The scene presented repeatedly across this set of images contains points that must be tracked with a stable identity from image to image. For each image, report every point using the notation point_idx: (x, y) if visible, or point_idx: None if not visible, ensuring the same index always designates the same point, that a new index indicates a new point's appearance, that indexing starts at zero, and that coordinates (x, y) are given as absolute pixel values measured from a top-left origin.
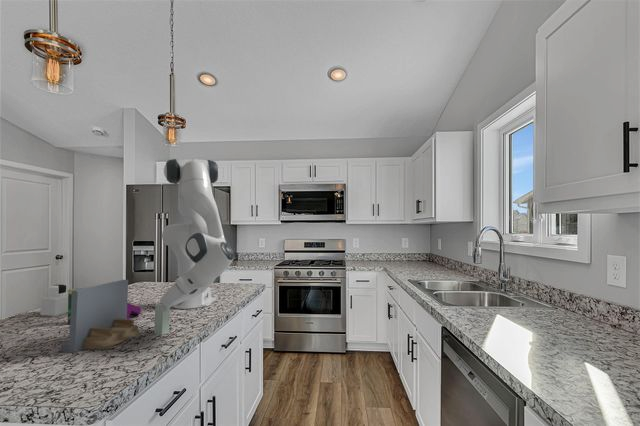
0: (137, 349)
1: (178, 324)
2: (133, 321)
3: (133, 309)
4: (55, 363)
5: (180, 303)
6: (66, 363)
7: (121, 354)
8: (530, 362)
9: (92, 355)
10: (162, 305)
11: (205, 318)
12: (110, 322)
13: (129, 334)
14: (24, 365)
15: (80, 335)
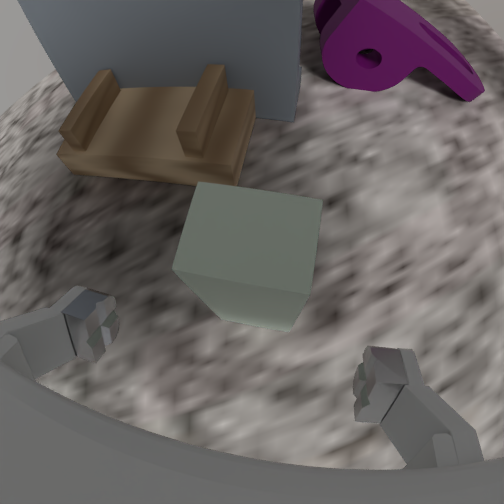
0: (49, 288)
1: (403, 333)
2: (194, 139)
3: (433, 67)
4: (31, 129)
5: (358, 400)
6: (20, 151)
7: (24, 254)
8: None
9: (44, 172)
10: (175, 261)
11: (493, 428)
12: (192, 68)
13: (176, 175)
14: (48, 87)
15: (77, 81)
